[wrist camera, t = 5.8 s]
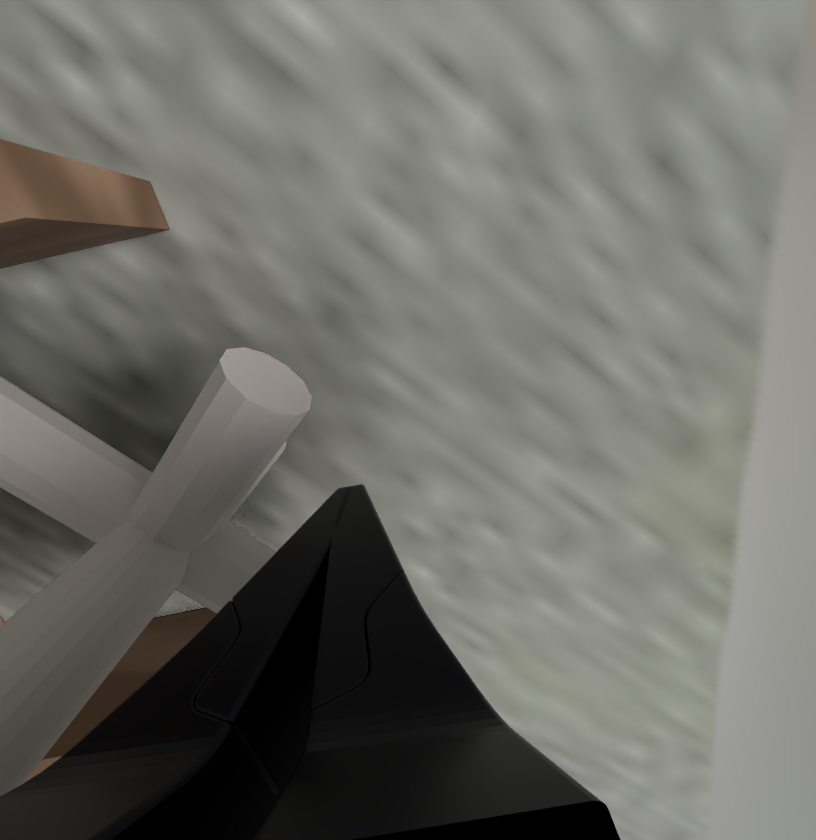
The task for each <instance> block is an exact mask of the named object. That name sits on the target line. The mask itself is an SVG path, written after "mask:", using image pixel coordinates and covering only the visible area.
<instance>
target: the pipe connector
mask: <svg viewBox="0 0 816 840" xmlns="http://www.w3.org/2000/svg"><path fill="white" fill-rule="evenodd" d="M311 399H312V396H311V394H310V393H309V391H308V389H307V387H306V385H305V383H304V381H303V380H302V379H301V378H300V377H299V376H297V375H296V374H295V373H294V372H293V371H292V370H291V369H290V368H289V367H288V366H287V365H285V364H283V363H282V362H280V361H278V360H276V359H275V358H273V357H271V356H270V355H268V354H266V353H263V352H259V351H256V350H252V349H249V348H245V347H242V348H233V349H227V350H226V351H225V353H224V354H223V356H222V357H221V359H220V360H219V362H218V364H217V365H216V367H215V369H214V370H213V372H212V374H211V375H210V377H209V379H208V381H207V382H206V384H205V386H204V387H203V389H202V391H201V392H200V394H199V396H198V397H197V399H196V401H195V402H194V404H193V406H192V407H191V409H190V411H189V413H188V414H187V416H186V418H185V419H184V421H183V423H182V424H181V426H180V428H179V429H178V431H177V433H176V434H175V436H174V438H173V440H172V441H171V443H170V445H169V446H168V448H167V450H166V451H165V453H164V455H163V456H162V458H161V460H160V461H159V463H158V465H157V466H156V468H155V470H154V472H153V473H152V472H151V471H149V470H148V469H146V468H145V467H143V466H141V465H140V464H138V463H137V462H135V461H134V460H132V459H130V458H129V457H127V456H126V455H124V454H123V453H121V452H119V451H118V450H116V449H115V448H113V447H112V446H110V445H108V444H107V443H105V442H104V441H102V440H101V439H99V438H97V437H96V436H94V435H93V434H91V433H90V432H88V431H86V430H85V429H83V428H82V427H80V426H79V425H77V424H76V423H74V422H72V421H71V420H69V419H68V418H66V417H65V416H63V415H61V414H60V413H58V412H57V411H55V410H54V409H52V408H50V407H49V406H47V405H46V404H44V403H43V402H41V401H39V400H38V399H36V398H35V397H33V396H32V395H30V394H28V393H27V392H25V391H24V390H22V389H21V388H19V387H17V386H16V385H14V384H13V383H11V382H10V381H8V380H6V379H5V378H3V377H2V376H0V488H2V489H4V490H6V491H7V492H9V493H11V494H12V495H14V496H16V497H18V498H19V499H21V500H23V501H24V502H26V503H28V504H30V505H31V506H33V507H35V508H36V509H38V510H40V511H42V512H43V513H45V514H47V515H49V516H50V517H52V518H54V519H55V520H57V521H59V522H61V523H62V524H64V525H66V526H67V527H69V528H71V529H73V530H74V531H76V532H78V533H79V534H81V535H83V536H85V537H86V538H88V539H90V540H91V541H93V542H95V543H96V544H95V545H94V546H93V547H92V548H91V549H89V550H88V551H87V552H86V553H85V554H84V555H82V556H81V557H80V558H79V559H78V560H77V561H75V562H74V563H73V564H72V565H71V566H70V567H68V568H67V569H66V570H65V571H64V572H63V573H61V574H60V575H59V576H58V577H57V578H56V579H54V580H53V581H52V582H51V583H50V584H49V585H48V586H46V587H45V588H44V589H43V590H42V591H41V592H39V593H38V594H37V595H36V596H35V597H34V598H32V599H31V600H30V601H29V602H28V603H27V604H25V605H24V606H23V607H22V608H21V609H20V610H18V611H17V612H16V613H15V614H14V615H13V616H12V617H10V618H9V619H8V620H7V621H6V622H5V623H3V624H2V625H1V626H0V796H2V795H4V794H5V793H7V792H9V791H11V790H13V789H14V788H16V787H18V786H20V785H22V784H23V783H24V782H25V781H26V779H27V778H28V777H29V775H30V774H31V773H32V772H33V770H34V769H35V768H36V766H37V765H38V764H39V763H40V761H41V760H42V759H43V758H44V756H45V755H46V754H47V752H48V751H49V750H50V749H51V747H52V746H53V745H54V744H55V742H56V741H57V740H58V738H59V737H60V736H61V735H62V733H63V732H64V731H65V730H66V728H67V727H68V726H69V724H70V723H71V722H72V721H73V719H74V718H75V717H76V715H77V714H78V713H79V712H80V710H81V709H82V708H83V707H84V705H85V704H86V703H87V701H88V700H89V699H90V698H91V696H92V695H93V694H94V693H95V691H96V690H97V689H98V687H99V686H100V685H101V684H102V682H103V681H104V680H105V679H106V677H107V676H108V675H109V673H110V672H111V671H112V670H113V668H114V667H115V666H116V664H117V663H118V662H119V661H120V659H121V658H122V657H123V656H124V654H125V653H126V652H127V650H128V649H129V648H130V647H131V645H132V644H133V643H134V642H135V640H136V639H137V638H138V636H139V635H140V634H141V633H142V631H143V630H144V629H145V628H146V626H147V625H148V624H149V622H150V621H151V620H152V619H153V617H154V616H155V615H156V613H157V612H158V611H159V610H160V608H161V607H162V606H163V605H164V603H165V602H166V601H167V599H168V598H169V597H170V596H171V594H172V593H173V592H174V591H175V589H176V590H177V591H179V592H181V593H182V594H184V595H186V596H188V597H189V598H191V599H193V600H194V601H196V602H198V603H200V604H201V605H203V606H205V607H207V608H208V609H210V610H212V611H213V612H215V613H218V612H219V611H220V610H221V609H222V608H223V607H224V606H225V605H226V604H227V603H228V602H229V601H233V600H232V598H233V596H234V595H235V594H236V593H237V592H238V591H239V590H240V589H241V588H242V587H243V586H244V585H245V584H246V583H247V582H248V581H249V580H250V579H251V578H252V577H253V576H254V575H255V574H256V573H257V572H258V571H259V570H260V569H261V568H262V567H263V566H264V565H265V563H266V562H267V561H268V560H269V559H270V558H271V557H272V556H273V555H274V554H275V553H276V551H275V550H273V549H272V548H270V547H268V546H267V545H265V544H264V543H262V542H261V541H259V540H257V539H256V538H254V537H253V536H251V535H250V534H248V533H246V532H245V531H243V530H242V529H240V528H239V527H237V526H236V525H234V524H232V523H231V522H229V520H230V519H231V518H232V517H233V515H234V514H235V513H236V512H237V510H238V509H239V508H240V506H241V505H242V504H243V503H244V501H245V500H246V499H247V497H248V496H249V495H250V494H251V492H252V491H253V490H254V489H255V487H256V486H257V485H258V483H259V482H260V481H261V480H262V478H263V477H264V476H265V475H266V473H267V472H268V471H269V469H270V468H271V467H272V466H273V464H274V463H275V462H276V461H277V459H278V458H279V457H280V455H281V454H282V453H283V451H284V449H285V448H286V442H287V441H286V440H287V439H288V438H289V436H290V435H291V434H292V432H293V431H294V430H295V428H296V427H297V426H298V424H299V423H300V422H301V420H302V419H303V418H304V416H305V415H306V414H307V413H308V411H309V410H310V405H311Z"/></svg>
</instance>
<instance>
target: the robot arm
mask: <svg viewBox="0 0 816 840" xmlns="http://www.w3.org/2000/svg"><path fill="white" fill-rule="evenodd" d="M232 600H233V601H229V602H228V603H227V604H226V605H225V606H224V607H223V608H222V609H221V610H220V611H219V612H218V613H217V614H216V615H215V616H214V617H213V618H212V619H211V620H210V621H209V622H208V623H207V624H206V625H205V626H204V627H203V628H202V629H201V630H200V631H199V632H198V633H197V634H196V635H195V636H194V637H193V638H192V639H191V640H190V641H189V642H188V643H187V644H186V645H185V646H183V647H182V648H181V649H180V650H179V651H178V652H177V653H176V654H175V655H174V656H173V657H172V658H171V659H170V660H168V661H167V662H166V663H165V664H164V665H163V666H162V667H161V668H160V669H159V670H158V671H157V672H155V673H154V674H153V675H152V676H151V677H150V678H149V679H148V680H147V681H146V682H144V683H143V684H142V685H141V686H140V687H139V688H138V689H137V690H136V691H134V692H133V693H132V694H131V695H130V696H129V697H128V698H127V699H126V700H124V701H123V702H122V703H121V704H120V705H119V706H118V707H117V708H116V709H115V710H113V711H112V712H111V713H110V714H109V715H108V716H107V717H106V718H105V719H103V720H102V721H101V722H100V723H99V724H98V725H97V726H96V727H95V728H94V729H92V730H91V731H90V732H89V733H88V734H87V735H86V736H85V737H84V738H82V739H81V740H80V741H79V742H78V743H77V744H76V745H75V746H73V747H72V748H71V749H70V750H69V751H68V752H66V753H65V754H64V755H63V756H62V757H61V758H59V759H58V760H57V761H55V762H54V763H53V764H51V765H50V766H49V767H47V768H46V769H45V770H43V771H42V772H40V773H39V774H37V775H36V776H34V777H33V778H31V779H30V780H28V781H26V782H25V783H23V784H22V785H20V786H18V787H16V788H14V789H13V790H11V791H9V792H7V793H5V794H4V795H2V796H0V840H620V838H619V835H618V833H617V831H616V828H615V825H614V823H613V820H612V818H611V815H610V812H609V810H608V808H607V806H606V805H605V804H604V803H603V802H602V801H600V800H599V799H598V798H597V797H595V796H594V795H593V794H592V793H590V792H589V791H588V790H587V789H586V788H584V787H583V786H582V785H581V784H579V783H578V782H577V781H576V780H574V779H573V778H572V777H571V776H569V775H568V774H567V773H566V772H565V771H563V770H562V769H561V768H560V767H558V766H557V765H556V764H555V763H553V762H552V761H551V760H550V759H548V758H547V757H546V756H545V755H544V754H542V753H541V752H540V751H539V750H537V749H536V748H535V747H534V746H532V745H531V744H530V743H529V742H527V741H526V740H525V739H524V738H523V737H521V736H520V735H519V734H518V733H516V732H515V731H514V730H513V729H512V728H510V727H509V726H508V725H507V724H506V722H505V721H504V720H503V719H502V718H501V717H500V716H499V715H498V713H497V712H496V711H495V710H494V709H493V707H492V706H491V705H490V704H489V702H488V701H487V700H486V699H485V697H484V696H483V695H482V693H481V692H480V691H479V689H478V688H477V686H476V685H475V684H474V682H473V681H472V679H471V678H470V677H469V675H468V674H467V672H466V671H465V669H464V668H463V667H462V665H461V664H460V662H459V661H458V659H457V658H456V657H455V655H454V654H453V652H452V651H451V650H450V648H449V647H448V645H447V644H446V642H445V641H444V640H443V638H442V637H441V635H440V634H439V633H438V631H437V630H436V628H435V626H434V625H433V623H432V622H431V620H430V619H429V617H428V616H427V614H426V612H425V611H424V609H423V608H422V606H421V604H420V602H419V600H418V598H417V596H416V595H415V593H414V591H413V589H412V587H411V585H410V582H409V580H408V578H407V576H406V574H405V573H404V570H403V568H402V566H401V564H400V561H399V559H398V557H397V555H396V553H395V551H394V549H393V546H392V544H391V542H390V540H389V538H388V536H387V533H386V531H385V529H384V527H383V525H382V523H381V521H380V518H379V516H378V514H377V512H376V510H375V508H374V506H373V503H372V501H371V499H370V497H369V495H368V493H367V491H366V488H365V486H364V485H362V484H360V485H355V486H349V487H343V488H339V489H337V490H336V491H335V492H334V493H333V494H332V495H331V496H330V497H329V498H328V499H327V500H326V502H325V503H324V504H323V505H322V506H321V507H320V508H319V509H318V510H317V511H316V512H315V513H314V514H313V515H312V516H311V517H310V518H309V519H308V520H307V521H306V522H305V523H304V524H303V525H302V526H301V527H300V528H299V529H298V530H297V531H296V532H295V534H294V535H293V536H292V537H291V538H290V539H289V540H288V541H287V542H286V543H285V544H284V545H283V546H282V547H281V548H280V549H279V550H278V551H277V552H276V553H275V554H274V555H273V556H272V557H271V558H270V559H269V560H268V561H267V562H266V563H265V565H264V566H263V567H262V568H261V569H260V570H259V571H258V572H257V573H256V574H255V575H254V576H253V577H252V578H251V579H250V580H249V581H248V582H247V583H246V584H245V585H244V586H243V587H242V588H241V589H240V590H239V591H238V592H237V593H236V594H235V595H234V596H233V598H232Z"/></svg>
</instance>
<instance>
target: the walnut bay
mask: <svg viewBox="0 0 816 840" xmlns="http://www.w3.org/2000/svg"><path fill="white" fill-rule="evenodd" d="M165 230H169V227H168V224H167V222H166V219H165V217H164V214H163V212H162V210H161V207H160V205H159V202H158V200H157V197H156V195H155V192H154V190H153V187H152V185H151V183H150V181H146V180H143V179H139V178H136V177H132V176H129V175H125V174H122V173H118V172H115V171H111V170H107V169H104V168H100V167H97V166H93V165H90V164H86V163H83V162H79V161H76V160H72V159H69V158H65V157H62V156H58V155H54V154H51V153H47V152H44V151H40V150H37V149H33V148H30V147H26V146H23V145H19V144H16V143H12V142H8V141H5V140H1V139H0V268H3V267H8V266H12V265H17V264H21V263H25V262H30V261H34V260H38V259H43V258H47V257H51V256H56V255H60V254H65V253H69V252H73V251H78V250H82V249H86V248H91V247H95V246H99V245H104V244H108V243H113V242H117V241H121V240H126V239H130V238H134V237H139V236H143V235H147V234H152V233H156V232H161V231H165ZM216 614H217V613H215V612H213V611H212V610H210V609H208V608H204V609H199V610H194V611H189V612H184V613H179V614H174V615H170V616H165V617H160V618H155V619H152V620H151V621H150V622H149V624H148V625H147V626H146V628H145V629H144V630H143V631H142V633H141V634H140V635H139V636H138V638H137V639H136V640H135V642H134V643H133V644H132V645H131V647H130V648H129V649H128V650H127V652H126V653H125V654H124V656H123V657H122V658H121V659H120V661H119V662H118V663H117V664H116V666H115V667H114V668H113V670H112V671H111V672H110V673H109V675H108V676H107V677H106V679H105V680H104V681H103V682H102V684H101V685H100V686H99V687H98V689H97V690H96V691H95V693H94V694H93V695H92V696H91V698H90V699H89V700H88V701H87V703H86V704H85V705H84V707H83V708H82V709H81V710H80V712H79V713H78V714H77V715H76V717H75V718H74V719H73V721H72V722H71V723H70V724H69V726H68V727H67V728H66V730H65V731H64V732H63V733H62V735H61V736H60V737H59V738H58V740H57V741H56V742H55V744H54V745H53V746H52V747H51V749H50V750H49V751H48V752H47V754H46V755H45V756H44V758H43V759H42V760H41V761H40V763H39V764H38V765H37V766H36V768H35V769H34V770H33V772H32V773H31V774H30V775H29V777H28V778H27V779H26V781H28V780H30V779H31V778H33V777H34V776H36V775H37V774H39V773H40V772H42V771H43V770H45V769H46V768H47V767H49V766H50V765H51V764H53V763H54V762H55V761H57V760H58V759H59V758H61V757H62V756H63V755H64V754H65V753H66V752H68V751H69V750H70V749H71V748H72V747H73V746H75V745H76V744H77V743H78V742H79V741H80V740H81V739H82V738H84V737H85V736H86V735H87V734H88V733H89V732H90V731H91V730H92V729H94V728H95V727H96V726H97V725H98V724H99V723H100V722H101V721H102V720H103V719H105V718H106V717H107V716H108V715H109V714H110V713H111V712H112V711H113V710H115V709H116V708H117V707H118V706H119V705H120V704H121V703H122V702H123V701H124V700H126V699H127V698H128V697H129V696H130V695H131V694H132V693H133V692H134V691H136V690H137V689H138V688H139V687H140V686H141V685H142V684H143V683H144V682H146V681H147V680H148V679H149V678H150V677H151V676H152V675H153V674H154V673H155V672H157V671H158V670H159V669H160V668H161V667H162V666H163V665H164V664H165V663H166V662H167V661H168V660H170V659H171V658H172V657H173V656H174V655H175V654H176V653H177V652H178V651H179V650H180V649H181V648H182V647H183V646H185V645H186V644H187V643H188V642H189V641H190V640H191V639H192V638H193V637H194V636H195V635H196V634H197V633H198V632H199V631H200V630H201V629H202V628H203V627H204V626H205V625H206V624H207V623H208V622H209V621H210V620H211V619H212V618H213V617H214V616H215V615H216ZM3 623H5V622H4V621H3V620H2V619H1V618H0V626H1V625H2V624H3ZM26 781H25V782H26ZM25 782H24V783H25Z"/></svg>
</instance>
